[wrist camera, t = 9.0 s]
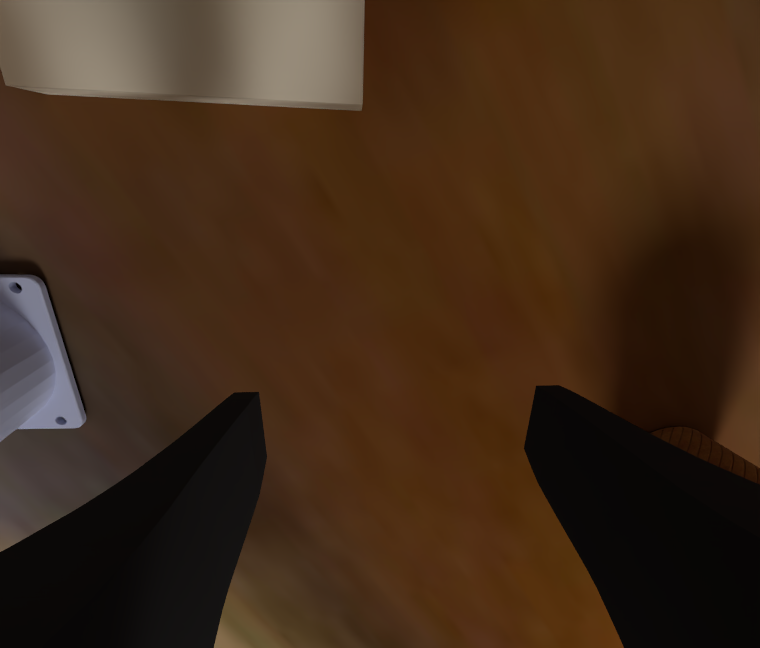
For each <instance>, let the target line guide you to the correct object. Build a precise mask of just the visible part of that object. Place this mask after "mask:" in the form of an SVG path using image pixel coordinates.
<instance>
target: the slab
mask: <svg viewBox="0 0 760 648" xmlns="http://www.w3.org/2000/svg"><path fill="white" fill-rule="evenodd" d="M364 3H365V0H0V67H1V71H2V74H3V78H4V81H5V85H7V86H11V87H16V88H21V89H25V90H30V91H34V92H39V93H44V94H53V95H72V96H91V97H110V98H129V99H148V100H167V101H186V102H205V103H224V104H243V105H262V106H281V107H300V108H319V109H338V110H357V111H361V110H362V105H363V55H364Z"/></svg>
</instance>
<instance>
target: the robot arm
mask: <svg viewBox="0 0 760 648" xmlns="http://www.w3.org/2000/svg"><path fill="white" fill-rule="evenodd" d="M16 283H18V284H19V285H20V286H21V287H22V290H20V289H19V288H18V287H17V286H16ZM62 417H63V418H65V419H66V420H64V419H63V418H62ZM85 421H86V414H85V411H84V408H83V405H82V401H81V398H80V395H79V392H78V389H77V385H76V382H75V379H74V376H73V373H72V369H71V366H70V363H69V360H68V356H67V353H66V350H65V347H64V344H63V340H62V337H61V334H60V331H59V328H58V324H57V321H56V318H55V315H54V311H53V308H52V305H51V302H50V299H49V295H48V292H47V289H46V286H45V284H44V282H43V281H42V280H41V279H40V278H39V277H37V276H34V275H16V274H0V442H1V441H2V440H3V439H4V438H6V437H7V436H8V435H9V434H11V433H12V432H13V431H14V430H16V429H53V428H78V427H80V426H81V425H82V424H84V423H85ZM524 449H525V452H526V455H527V457H528V460H529V462H530V465H531V468H532V470H533V472H534V475H535V477H536V479H537V482H538V484H539V486H540V487H541V489H542V491H543V493H544V495H545V497H546V498H547V500H548V502H549V504H550V505H551V507H552V509H553V511H554V513H555V514H556V516H557V518H558V519H559V521H560V523H561V525H562V526H563V528H564V530H565V532H566V533H567V535H568V537H569V539H570V540H571V542H572V544H573V546H574V547H575V549H576V551H577V553H578V554H579V556H580V558H581V560H582V561H583V563H584V565H585V566H586V568H587V570H588V572H589V574H590V576H591V578H592V580H593V582H594V583H595V585H596V587H597V589H598V591H599V593H600V596H601V598H602V600H603V602H604V604H605V607H606V609H607V611H608V613H609V615H610V617H611V620H612V622H613V624H614V626H615V628H616V630H617V633H618V635H619V637H620V639H621V642H622V644H623V646H624V648H760V484H758V483H755V482H753V481H751V480H748V479H746V478H744V477H741V476H739V475H737V474H734V473H732V472H730V471H727V470H725V469H723V468H720V467H718V466H716V465H713V464H711V463H709V462H707V461H705V460H703V459H700V458H698V457H696V456H694V455H692V454H690V453H688V452H686V451H684V450H682V449H680V448H678V447H676V446H674V445H672V444H670V443H668V442H666V441H664V440H662V439H660V438H658V437H656V436H654V435H652V434H650V433H648V432H646V431H644V430H643V429H641V428H639V427H637V426H635V425H633V424H631V423H630V422H628V421H626V420H624V419H622V418H620V417H619V416H617V415H615V414H613V413H611V412H609V411H608V410H606V409H604V408H602V407H600V406H599V405H597V404H595V403H593V402H591V401H589V400H588V399H586V398H584V397H582V396H580V395H578V394H576V393H574V392H572V391H570V390H568V389H566V388H564V387H561V386H559V385H553V386H536V390H535V395H534V400H533V405H532V410H531V415H530V420H529V425H528V430H527V435H526V441H525V446H524ZM266 459H267V454H266V446H265V438H264V430H263V422H262V414H261V406H260V398H259V392H240V393H233V394H232V395H230V396H229V397H228V398H227V399H225V400H224V401H223V402H222V403H221V404H219V405H218V406H217V407H216V408H215V409H213V410H212V411H211V412H210V413H209V414H208V415H206V416H205V417H204V418H203V419H202V420H200V421H199V422H198V423H197V424H195V425H194V426H193V427H192V428H191V429H189V430H188V431H187V432H186V433H184V434H183V435H182V436H181V437H180V438H178V439H177V440H176V441H175V442H173V443H172V444H171V445H169V446H168V447H167V448H165V449H164V450H163V451H161V452H160V453H159V454H157V455H156V456H155V457H153V458H152V459H151V460H149V461H148V462H147V463H145V464H144V465H143V466H141V467H140V468H139V469H137V470H136V471H134V472H133V473H132V474H130V475H129V476H127V477H126V478H124V479H123V480H121V481H120V482H118V483H117V484H115V485H114V486H112V487H111V488H109V489H108V490H106V491H105V492H103V493H102V494H100V495H98V496H97V497H95V498H94V499H92V500H91V501H89V502H87V503H86V504H84V505H83V506H81V507H79V508H78V509H76V510H74V511H73V512H71V513H69V514H67V515H66V516H64V517H62V518H60V519H59V520H57V521H55V522H53V523H52V524H50V525H48V526H46V527H45V528H43V529H41V530H39V531H37V532H36V533H34V534H32V535H30V536H29V537H27V538H25V539H23V540H22V541H20V542H18V543H16V544H15V545H13V546H11V547H9V548H7V549H5V550H3V551H1V552H0V648H214V643H215V639H216V635H217V631H218V626H219V622H220V618H221V614H222V610H223V606H224V603H225V599H226V596H227V592H228V589H229V586H230V583H231V580H232V576H233V573H234V570H235V567H236V564H237V561H238V558H239V555H240V552H241V549H242V546H243V543H244V540H245V537H246V534H247V531H248V528H249V525H250V522H251V519H252V516H253V513H254V510H255V507H256V504H257V500H258V497H259V494H260V489H261V484H262V480H263V475H264V469H265V464H266Z"/></svg>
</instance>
